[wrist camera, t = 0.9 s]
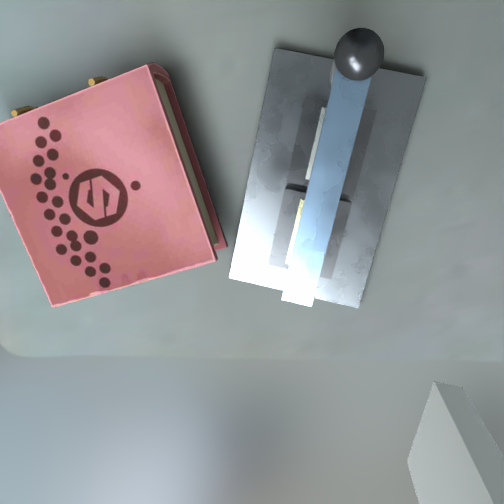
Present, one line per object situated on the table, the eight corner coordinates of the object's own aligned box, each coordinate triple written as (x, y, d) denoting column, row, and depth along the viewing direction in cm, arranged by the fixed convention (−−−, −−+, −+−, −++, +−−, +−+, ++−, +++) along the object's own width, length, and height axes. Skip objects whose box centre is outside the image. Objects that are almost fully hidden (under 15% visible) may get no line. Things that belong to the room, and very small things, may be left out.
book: (166, 64, 33) (142, 50, 28) (228, 245, 36) (216, 261, 31) (14, 124, 35) (-32, 121, 31) (84, 287, 38) (52, 307, 34)
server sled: (275, 47, 31) (268, 24, 25) (423, 76, 30) (453, 59, 24) (231, 274, 36) (215, 300, 30) (356, 303, 35) (367, 337, 29)
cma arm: (338, 33, 24) (341, 23, 22) (382, 42, 24) (390, 32, 22) (278, 290, 28) (276, 302, 26) (315, 299, 28) (316, 311, 26)
